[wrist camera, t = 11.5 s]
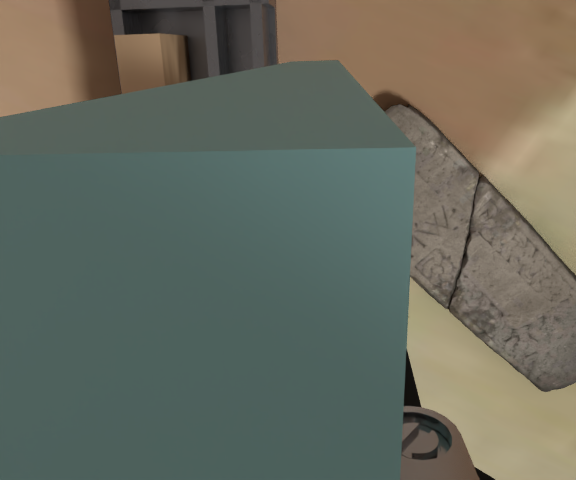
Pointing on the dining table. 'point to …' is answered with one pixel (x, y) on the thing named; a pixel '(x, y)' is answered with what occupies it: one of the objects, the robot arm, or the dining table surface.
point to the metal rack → (207, 30)
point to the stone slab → (488, 260)
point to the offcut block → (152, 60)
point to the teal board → (206, 282)
